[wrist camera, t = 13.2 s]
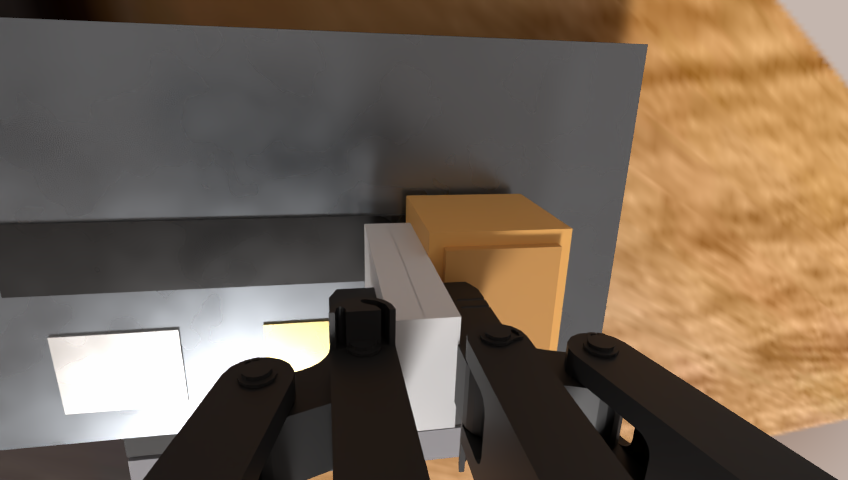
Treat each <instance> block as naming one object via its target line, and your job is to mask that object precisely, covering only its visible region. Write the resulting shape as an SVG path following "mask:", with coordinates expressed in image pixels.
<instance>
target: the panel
mask: <svg viewBox="0 0 848 480" xmlns="http://www.w3.org/2000/svg"><path fill="white" fill-rule="evenodd" d="M647 47H648V44H625V43H601V42H577V41H553V40H529V39H505V38H481V37H457V36H433V35H409V34H385V33H361V32H337V31H313V30H289V29H266V28H242V27H218V26H194V25H170V24H146V23H122V22H98V21H74V20H50V19H26V18H2V17H0V450H8V449H18V448H29V447H40V446H50V445H61V444H72V443H82V442H93V441H104V440H114V439H125V438H136V437H146V436H157V435H168V434H177V433H178V432H179V431H180V429H181V428H182V427H183V425H184V424H185V423H186V421H187V420H188V419H189V417H190V416H191V415H192V413H193V412H194V411H195V409H196V408H197V407H198V405H199V404H200V403H201V401H202V400H203V399H204V397H205V396H206V395H207V393H208V392H209V391H210V389H211V388H212V387H213V385H214V384H215V383H216V381H217V380H218V379H219V377H220V376H221V375H222V374H223V373H224V372H225V371H226V370H227V369H228V368H229V367H231V366H233V365H235V364H237V363H239V362H241V361H244V360H247V359H252V358H256V357H272V358H278V359H282V360H284V361H286V362H288V363H290V364H291V366H292V368H293V369H294V372H296V371H299V370H303V369H306V368H309V367H311V366H313V365H315V364H317V363H319V362H320V361H321V360H323V359H324V358H325V357H326V356H327V354H328V353H329V349H330V343H329V314H328V313H329V297H330V296H331V295H332V294H333V293H334V292H335V290H336V289H350V288H365V236H364V224H380V223H406V196H410V195H472V194H522V195H523V196H525V197H526V198H528V199H529V200H531V201H532V202H534V203H535V204H537V205H538V206H540V207H541V208H542V209H544V210H545V211H547V212H548V213H550V214H551V215H553V216H554V217H556V218H557V219H559V220H560V221H562V222H563V223H565V224H566V225H568V226H569V227H571V228H572V229H573V230H572V238H571V245H570V253H569V261H568V268H567V276H566V284H565V292H564V299H563V307H562V315H561V322H560V330H559V338H558V346H557V351H561V352H566V348H567V342H568V340H569V339H570V337H572V336H574V335H576V334H579V333H588V332H595V333H602V328H603V322H604V316H605V309H606V303H607V297H608V291H609V284H610V278H611V272H612V266H613V259H614V253H615V247H616V241H617V234H618V228H619V222H620V216H621V209H622V203H623V197H624V190H625V184H626V178H627V172H628V165H629V159H630V153H631V147H632V140H633V134H634V128H635V122H636V115H637V109H638V103H639V97H640V90H641V84H642V78H643V72H644V65H645V59H646V53H647Z"/></svg>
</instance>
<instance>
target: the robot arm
mask: <svg viewBox="0 0 848 480" xmlns="http://www.w3.org/2000/svg"><path fill="white" fill-rule="evenodd" d="M364 236H365V288H350V289H336V290H335V292H334V293H333V294H332V295H331V296H330V297H329V313H328V314H329V343H330V349H329V353H328V354H327V356H326V357H325V358H324V359H323V360H321V361H320V362H319V363H317V364H315V365H313V366H311V367H309V368H306V369H303V370H299V371H296V372H294V369H293V368H292V366H291V364H290V363H288V362H286V361H284V360H282V359H278V358H272V357H256V358H252V359H247V360H244V361H241V362H239V363H237V364H235V365H233V366H231V367H229V368H228V369H227V370H226V371H225V372H224V373H223V374H222V375H221V376H220V377H219V379H218V380H217V381H216V383H215V384H214V385H213V387H212V388H211V389H210V391H209V392H208V393H207V395H206V396H205V397H204V399H203V400H202V401H201V403H200V404H199V405H198V407H197V408H196V409H195V411H194V412H193V413H192V415H191V416H190V417H189V419H188V420H187V421H186V423H185V424H184V425H183V427H182V428H181V429H180V431H179V432H178V433H177V435H176V436H175V437H174V439H173V440H172V441H171V443H170V444H169V445H168V447H167V448H166V449H165V451H164V452H163V453H162V455H161V456H160V457H159V459H158V460H157V461H156V463H155V464H154V465H153V467H152V468H151V469H150V471H149V472H148V473H147V475H146V476H145V477H144V479H143V480H307V479H310V478H312V477H315V476H318V475H320V474H323V473H326V472H328V471H331V470H333V480H430V478H429V474H428V470H427V466H426V462H425V459H424V455H423V451H422V447H421V443H420V439H419V435H418V431H424V430H434V429H444V428H454V427H455V415H456V407H457V410H458V413H459V415H460V418H461V433H460V449H459V472H464V466H465V461H466V460H467V461H468V464H469V467H470V470H471V473H472V475H473V478H474V480H838V479H836V478H834V477H833V476H831V475H830V474H828V473H827V472H825V471H823V470H822V469H820V468H819V467H817V466H816V465H814V464H813V463H811V462H810V461H808V460H806V459H805V458H803V457H802V456H800V455H799V454H797V453H795V452H794V451H792V450H791V449H789V448H788V447H786V446H785V445H783V444H782V443H780V442H778V441H777V440H775V439H774V438H772V437H771V436H769V435H768V434H766V433H764V432H763V431H761V430H760V429H758V428H757V427H755V426H754V425H752V424H751V423H749V422H747V421H746V420H744V419H743V418H741V417H740V416H738V415H737V414H735V413H733V412H732V411H730V410H729V409H727V408H726V407H724V406H723V405H721V404H719V403H718V402H716V401H715V400H713V399H712V398H710V397H709V396H707V395H705V394H704V393H702V392H701V391H699V390H698V389H696V388H695V387H693V386H691V385H690V384H688V383H687V382H685V381H684V380H682V379H681V378H679V377H677V376H676V375H674V374H673V373H671V372H670V371H668V370H667V369H665V368H663V367H662V366H660V365H659V364H657V363H656V362H654V361H653V360H651V359H649V358H648V357H646V356H645V355H643V354H642V353H640V352H639V351H637V350H635V349H634V348H632V347H631V346H629V345H628V344H626V343H625V342H623V341H621V340H619V339H616V338H614V337H611V336H608V335H605V334H603V333H595V332H588V333H579V334H576V335H574V336H572V337H570V339H569V340H568V342H567V348H566V352H561V351H552V350H544V349H538V348H536V347H535V346H534V345H533V343H532V342H531V340H530V339H529V338H528V336H527V335H526V334H524V333H523V332H522V331H521V330H519V329H517V328H514V327H512V326H509V325H504V324H502V323H501V322H500V320H499V319H498V318H497V316H496V315H495V313H494V312H493V310H492V309H491V307H489V304H488V303H487V301H486V300H484V297H483V295H482V294H481V293H480V291H479V290H478V289H477V288H476V287H474V286H472V285H471V284H469V283H467V282H446V283H443V282H442V280H441V278H440V276H439V275H438V273H437V271H436V269H435V267H434V265H433V263H432V262H431V260H430V258H429V257H428V255H427V253H426V251H425V249H424V247H423V245H422V244H421V242H420V240H419V238H418V236H417V234H416V232H415V231H414V229H413V227H412V225H411V223H380V224H364ZM622 418H624V419H625V420H626V421H628V422H629V423H630V424H631V425H633V426H634V427H635V430H634V435H633V440H632V442H631V443H629V442H627V441H626V440H625V439H623V438H622V437H621V436H620V429H621V424H622Z"/></svg>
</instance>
